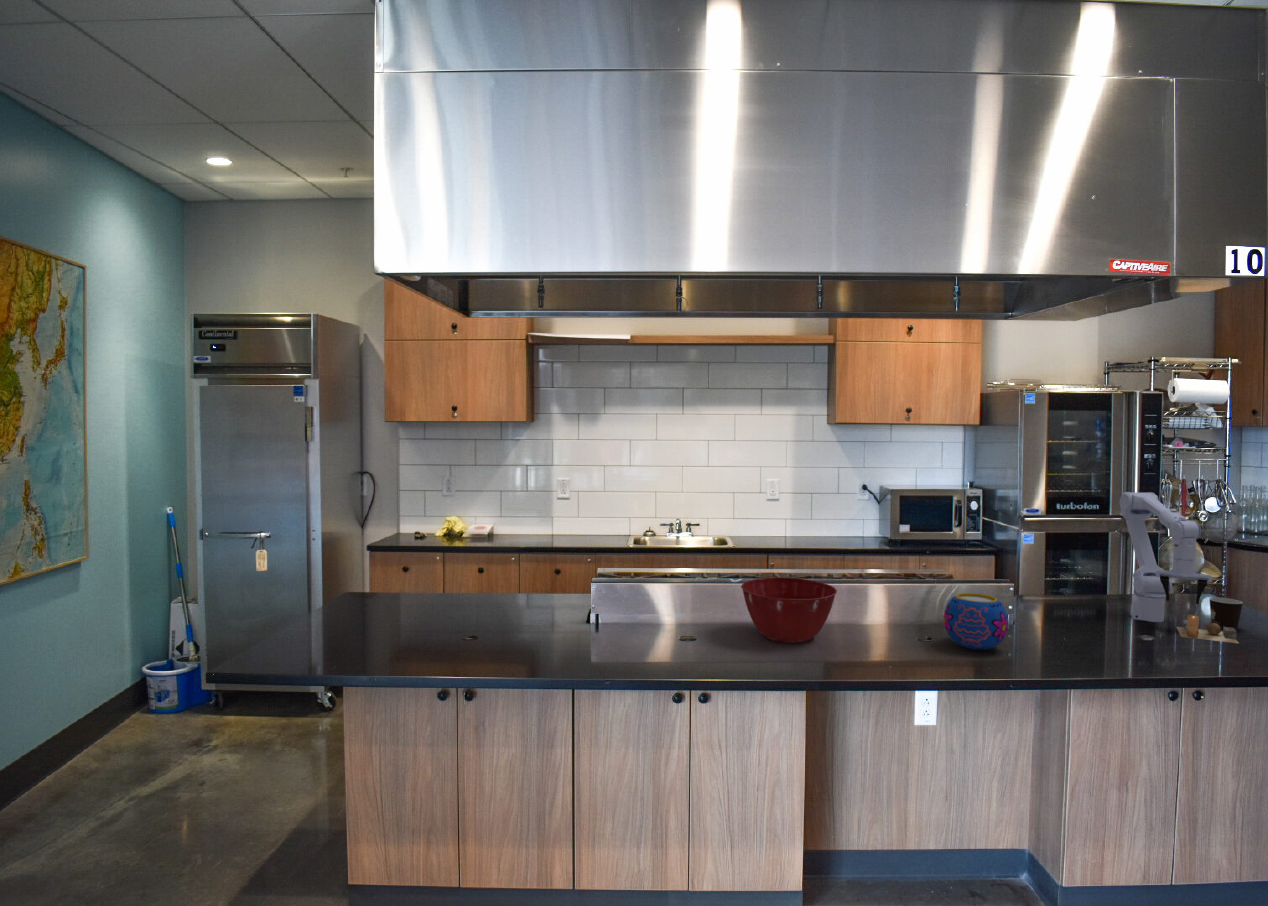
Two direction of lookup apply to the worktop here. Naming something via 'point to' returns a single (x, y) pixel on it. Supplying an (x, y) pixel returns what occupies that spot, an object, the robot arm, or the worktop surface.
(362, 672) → the worktop surface
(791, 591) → the mixing bowl
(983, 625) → the ceramic pot
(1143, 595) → the robot arm
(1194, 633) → the lever
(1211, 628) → the brown ball
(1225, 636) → the beige square panel
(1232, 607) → the coffee mug
